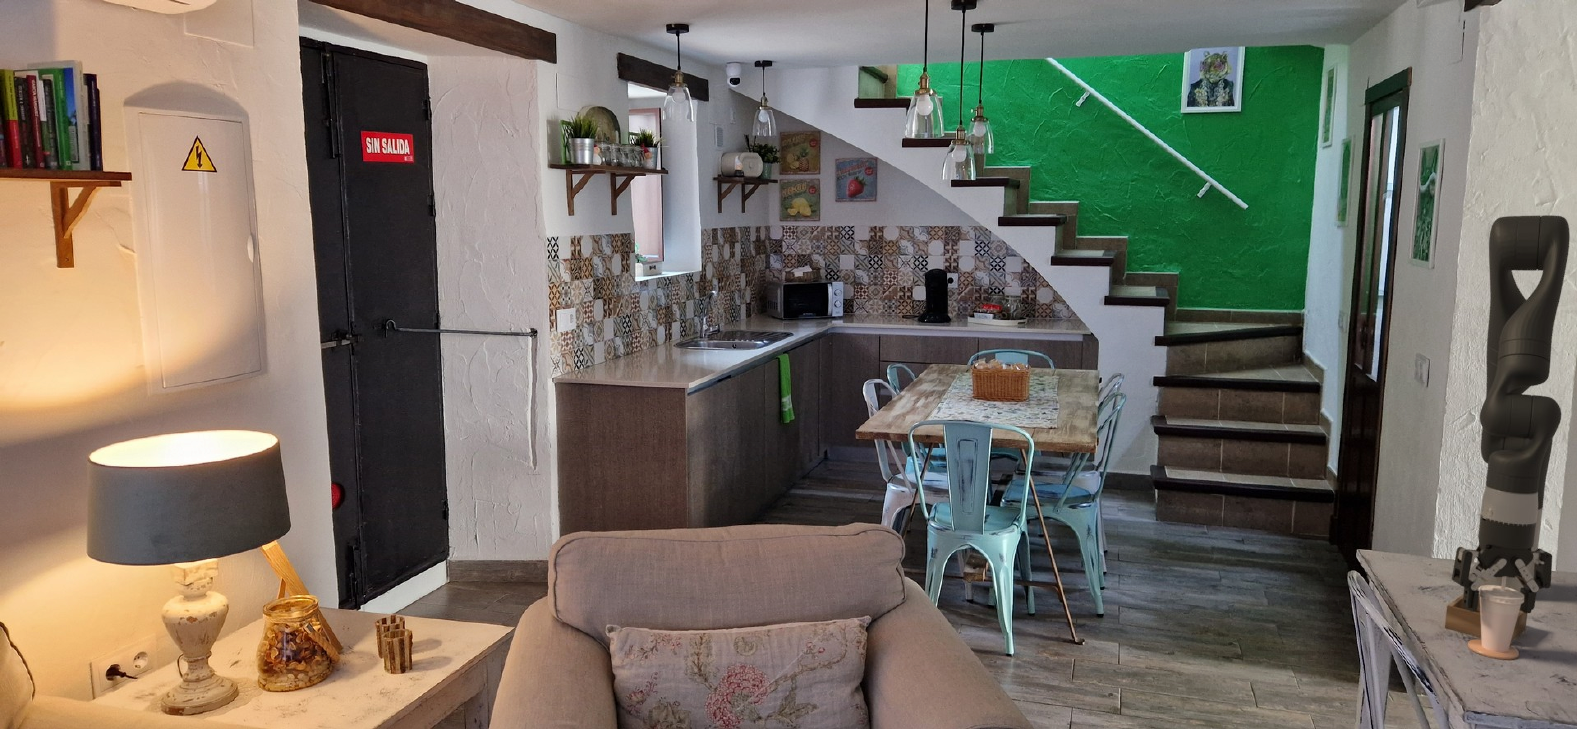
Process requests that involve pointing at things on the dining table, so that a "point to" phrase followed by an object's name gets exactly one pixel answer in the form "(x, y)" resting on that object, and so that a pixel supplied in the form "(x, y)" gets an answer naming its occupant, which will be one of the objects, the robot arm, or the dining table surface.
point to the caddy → (1475, 619)
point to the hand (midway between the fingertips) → (1497, 611)
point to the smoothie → (1498, 615)
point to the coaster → (1477, 648)
